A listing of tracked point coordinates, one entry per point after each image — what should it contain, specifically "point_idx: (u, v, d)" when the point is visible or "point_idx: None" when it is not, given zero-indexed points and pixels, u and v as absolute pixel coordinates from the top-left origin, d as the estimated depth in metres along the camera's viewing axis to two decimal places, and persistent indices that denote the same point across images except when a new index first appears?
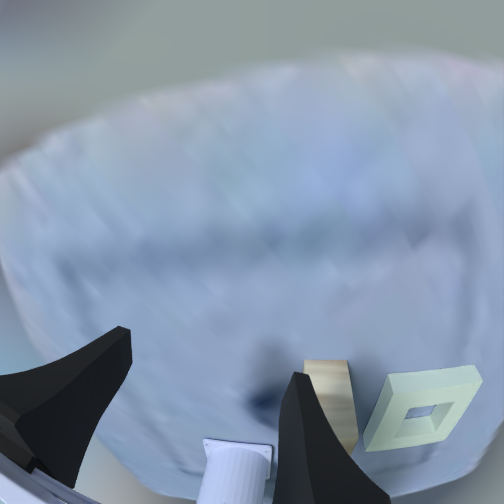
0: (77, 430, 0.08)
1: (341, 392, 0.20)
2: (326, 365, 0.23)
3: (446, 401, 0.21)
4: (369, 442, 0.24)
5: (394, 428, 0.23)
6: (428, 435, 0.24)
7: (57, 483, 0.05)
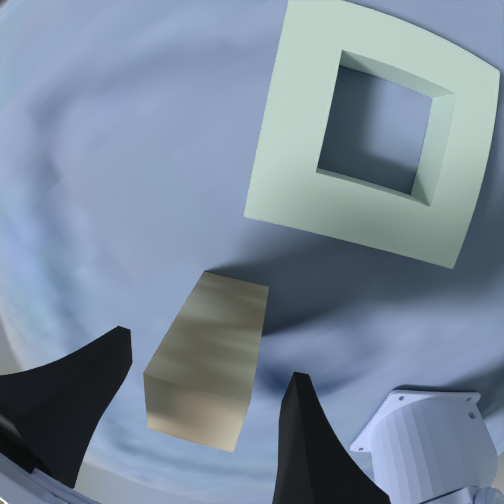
0: (77, 430, 0.08)
1: None
2: None
3: (331, 74, 0.10)
4: (421, 259, 0.12)
5: (387, 205, 0.11)
6: (462, 112, 0.09)
7: (57, 483, 0.05)
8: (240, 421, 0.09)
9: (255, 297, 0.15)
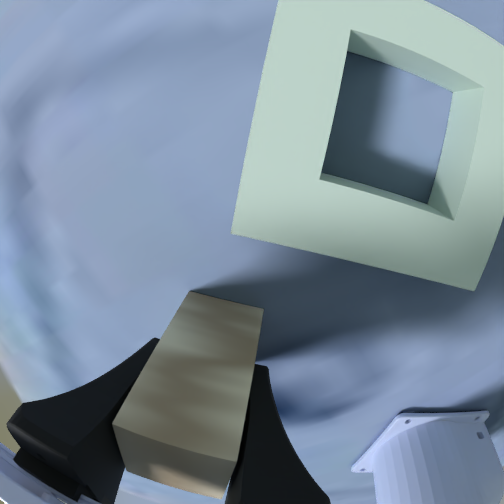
0: (119, 449, 0.08)
1: None
2: None
3: (338, 58, 0.08)
4: (441, 281, 0.10)
5: (405, 219, 0.09)
6: (491, 109, 0.07)
7: None
8: (227, 476, 0.07)
9: (247, 323, 0.13)
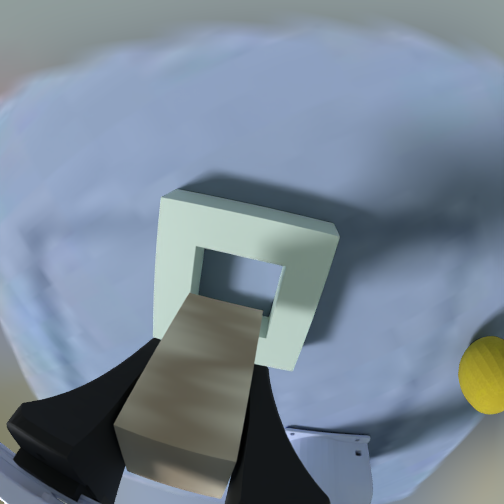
0: (119, 449, 0.08)
1: None
2: None
3: (189, 263, 0.18)
4: (266, 365, 0.20)
5: None
6: (292, 279, 0.17)
7: None
8: (226, 476, 0.07)
9: (246, 324, 0.13)
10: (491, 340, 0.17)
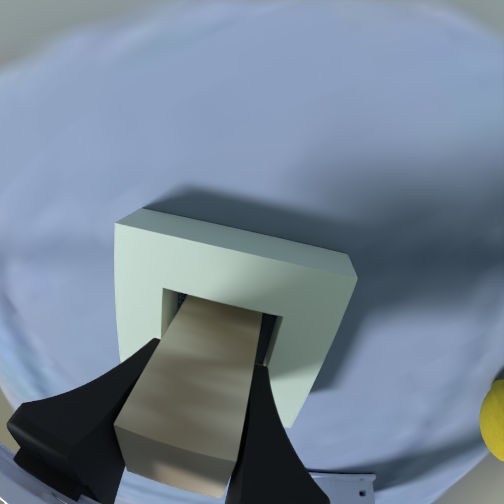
0: (119, 449, 0.08)
1: None
2: None
3: (157, 308, 0.13)
4: None
5: None
6: (291, 332, 0.13)
7: None
8: (226, 476, 0.07)
9: (246, 324, 0.13)
10: None
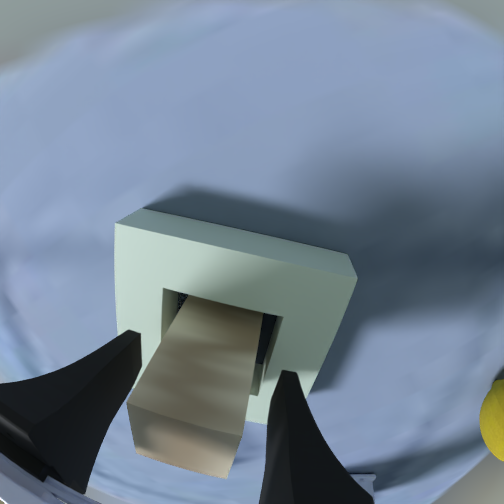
0: (89, 436, 0.08)
1: None
2: None
3: (157, 308, 0.13)
4: (259, 421, 0.15)
5: None
6: (291, 332, 0.13)
7: (57, 483, 0.05)
8: (232, 452, 0.08)
9: (250, 313, 0.14)
10: None
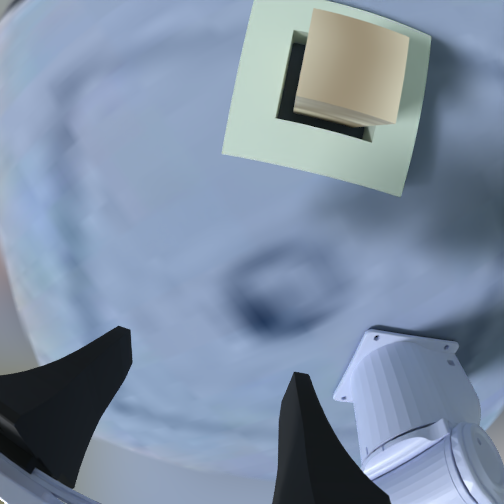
0: (77, 430, 0.08)
1: None
2: None
3: (285, 47, 0.13)
4: None
5: (334, 141, 0.15)
6: None
7: (57, 483, 0.05)
8: (403, 63, 0.08)
9: None
10: None
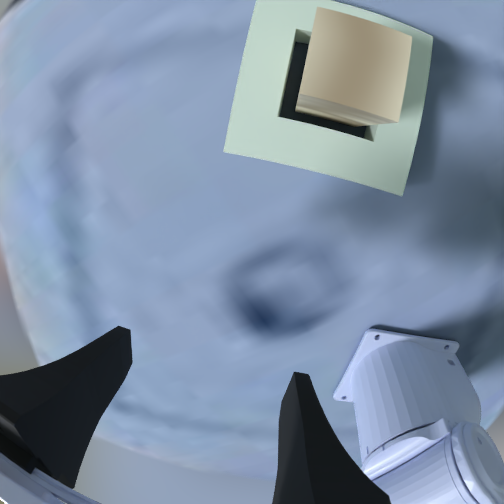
0: (77, 430, 0.08)
1: None
2: None
3: (287, 46, 0.13)
4: (372, 186, 0.15)
5: (336, 140, 0.15)
6: None
7: (57, 483, 0.05)
8: (406, 62, 0.08)
9: None
10: None
